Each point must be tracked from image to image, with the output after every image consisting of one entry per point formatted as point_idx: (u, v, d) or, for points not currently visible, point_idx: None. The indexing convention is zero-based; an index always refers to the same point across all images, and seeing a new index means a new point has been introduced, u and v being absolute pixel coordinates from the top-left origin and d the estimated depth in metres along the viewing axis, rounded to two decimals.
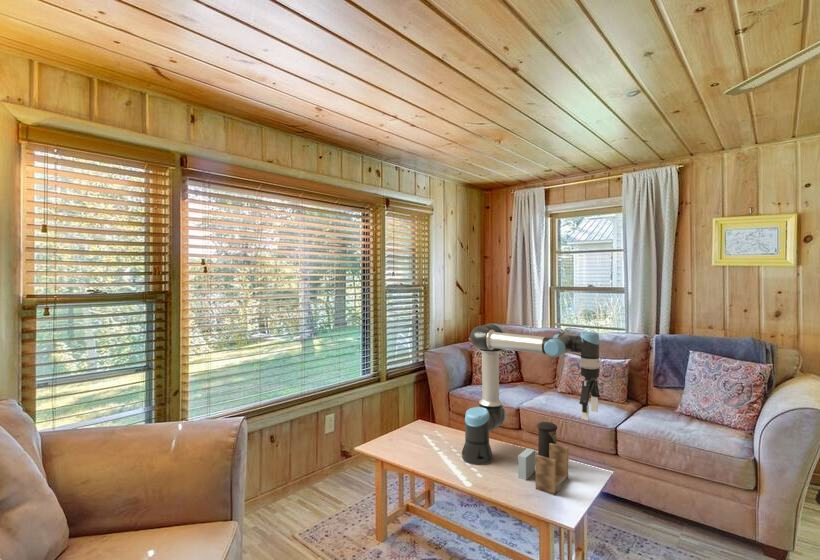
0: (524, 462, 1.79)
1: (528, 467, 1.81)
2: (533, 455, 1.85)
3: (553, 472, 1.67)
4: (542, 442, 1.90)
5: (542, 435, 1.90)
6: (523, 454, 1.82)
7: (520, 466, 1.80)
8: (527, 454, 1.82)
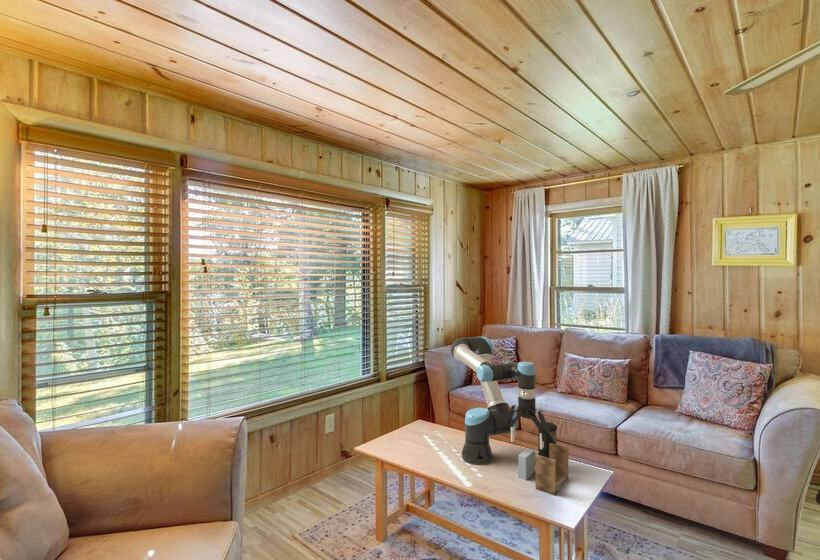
0: (524, 462, 1.79)
1: (528, 467, 1.81)
2: (533, 455, 1.85)
3: (553, 472, 1.67)
4: None
5: None
6: (523, 454, 1.82)
7: (520, 466, 1.80)
8: (527, 454, 1.82)
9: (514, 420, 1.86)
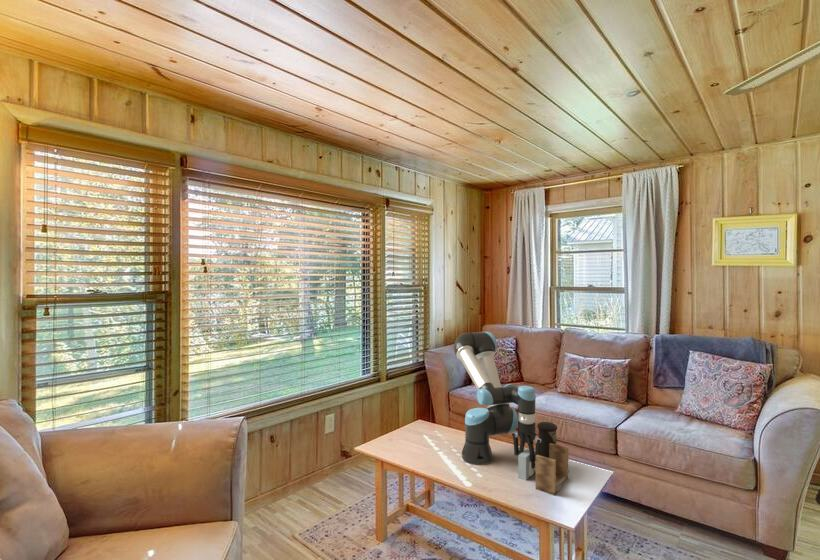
0: (524, 462, 1.79)
1: (528, 467, 1.81)
2: None
3: (553, 472, 1.67)
4: (542, 442, 1.90)
5: (542, 435, 1.90)
6: (523, 454, 1.82)
7: (520, 466, 1.80)
8: (527, 454, 1.82)
9: (520, 449, 1.84)
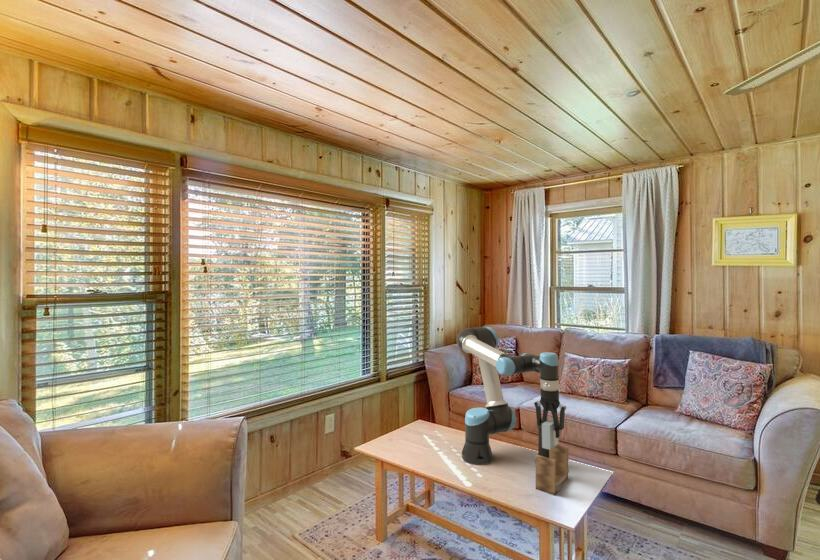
0: (548, 430, 1.71)
1: (552, 436, 1.72)
2: None
3: (553, 472, 1.67)
4: None
5: None
6: (547, 422, 1.74)
7: (544, 435, 1.72)
8: (551, 423, 1.74)
9: (543, 418, 1.76)
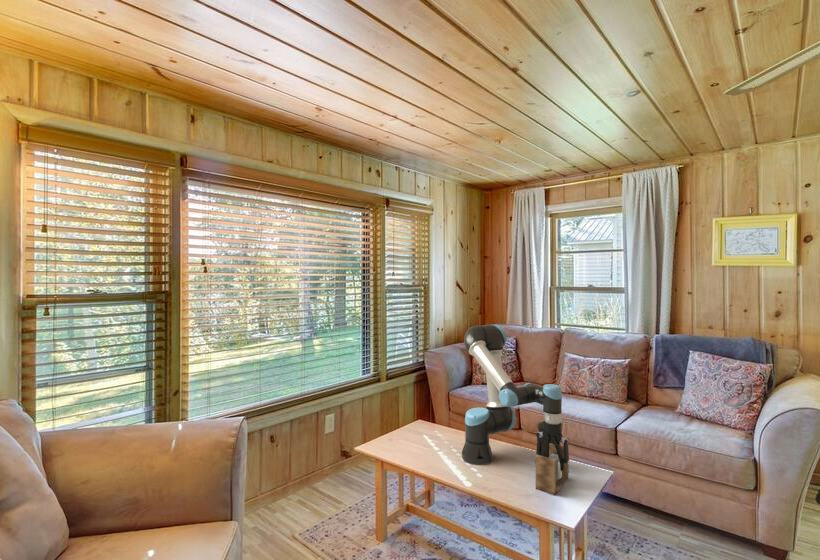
0: None
1: None
2: (559, 461, 1.77)
3: (553, 472, 1.67)
4: (542, 442, 1.90)
5: None
6: None
7: None
8: None
9: (544, 449, 1.76)
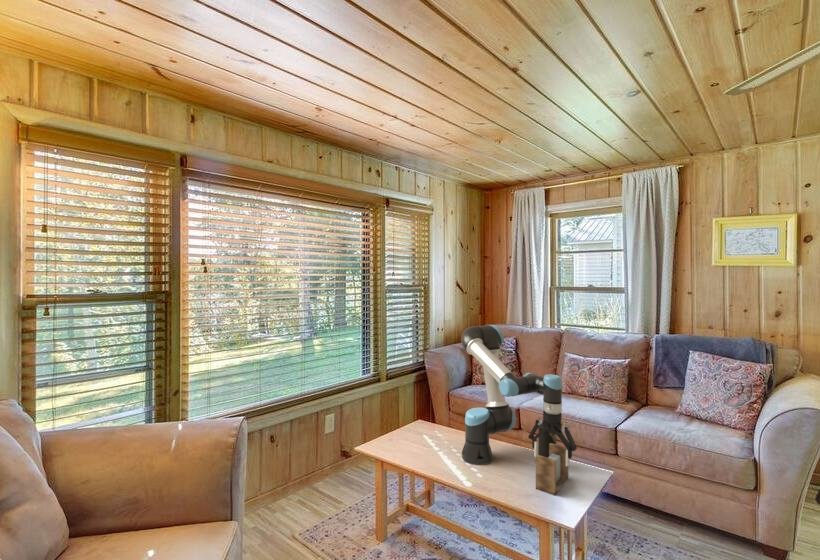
0: None
1: None
2: (559, 461, 1.77)
3: (553, 472, 1.67)
4: (542, 442, 1.90)
5: (542, 435, 1.90)
6: None
7: None
8: None
9: (538, 435, 1.78)
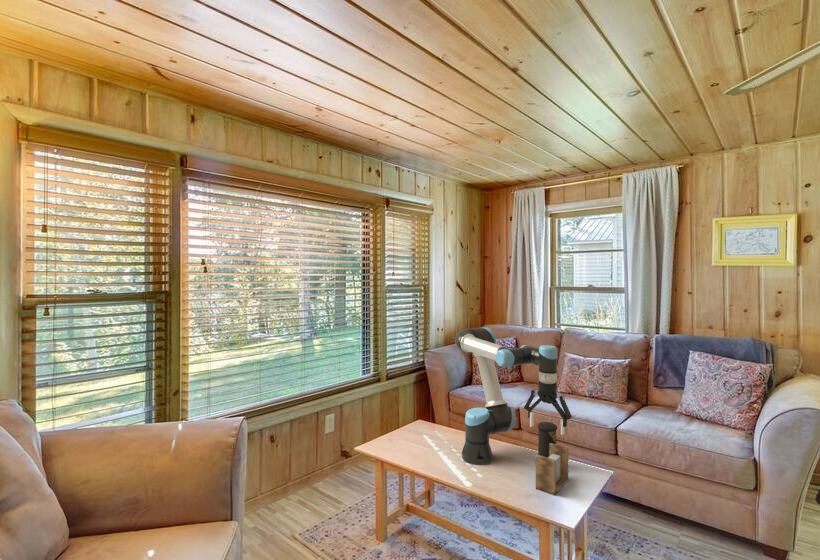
0: None
1: None
2: (559, 461, 1.77)
3: (553, 472, 1.67)
4: (542, 442, 1.90)
5: (542, 435, 1.90)
6: None
7: None
8: None
9: (534, 405, 1.80)
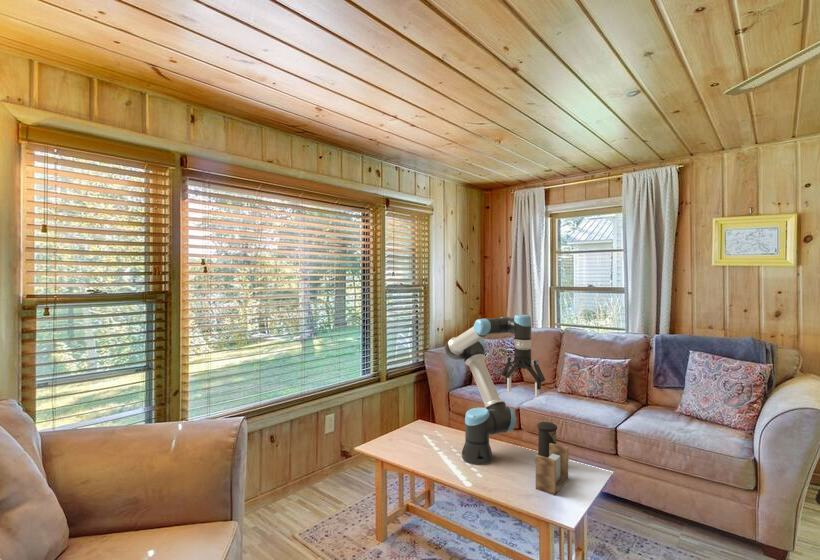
0: None
1: None
2: (559, 461, 1.77)
3: (553, 472, 1.67)
4: (542, 442, 1.90)
5: (542, 435, 1.90)
6: None
7: None
8: None
9: (510, 371, 1.92)
